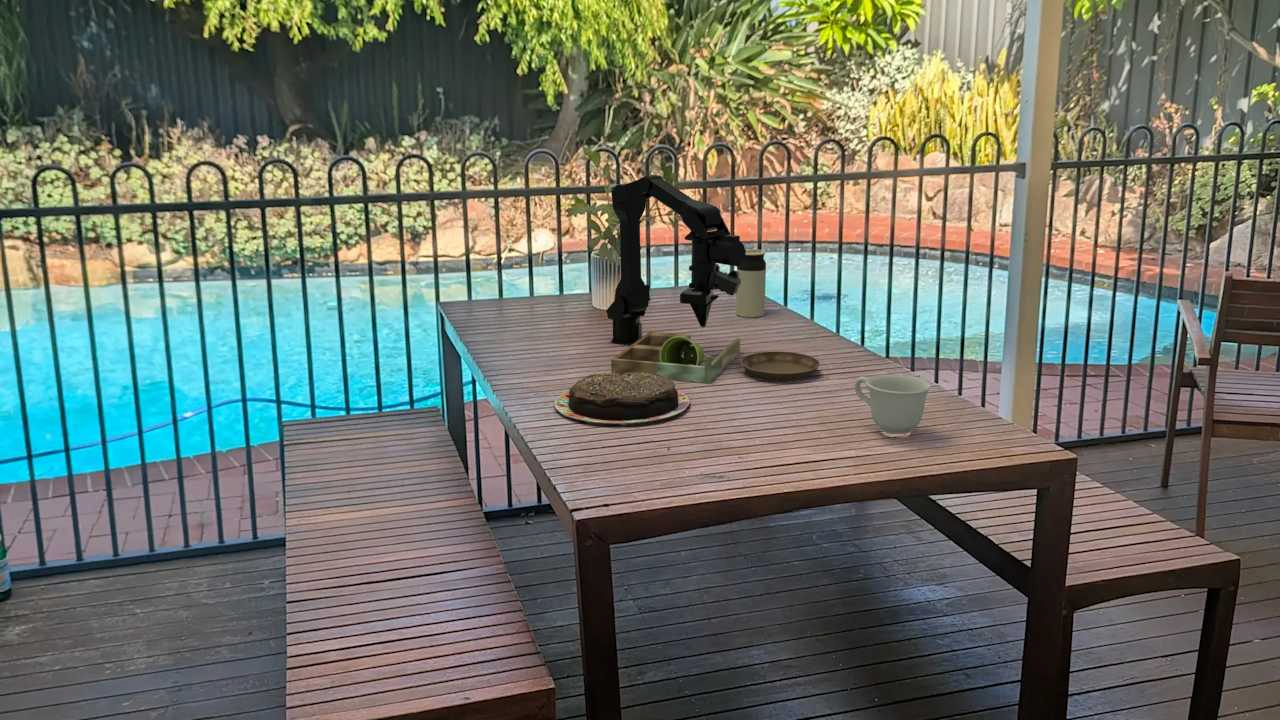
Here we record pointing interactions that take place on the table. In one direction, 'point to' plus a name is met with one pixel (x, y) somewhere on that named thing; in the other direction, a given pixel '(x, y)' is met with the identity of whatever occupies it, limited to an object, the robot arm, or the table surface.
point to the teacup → (895, 401)
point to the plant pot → (674, 349)
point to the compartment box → (647, 360)
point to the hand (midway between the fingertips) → (703, 326)
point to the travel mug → (751, 285)
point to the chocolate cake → (622, 399)
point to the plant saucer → (780, 366)
